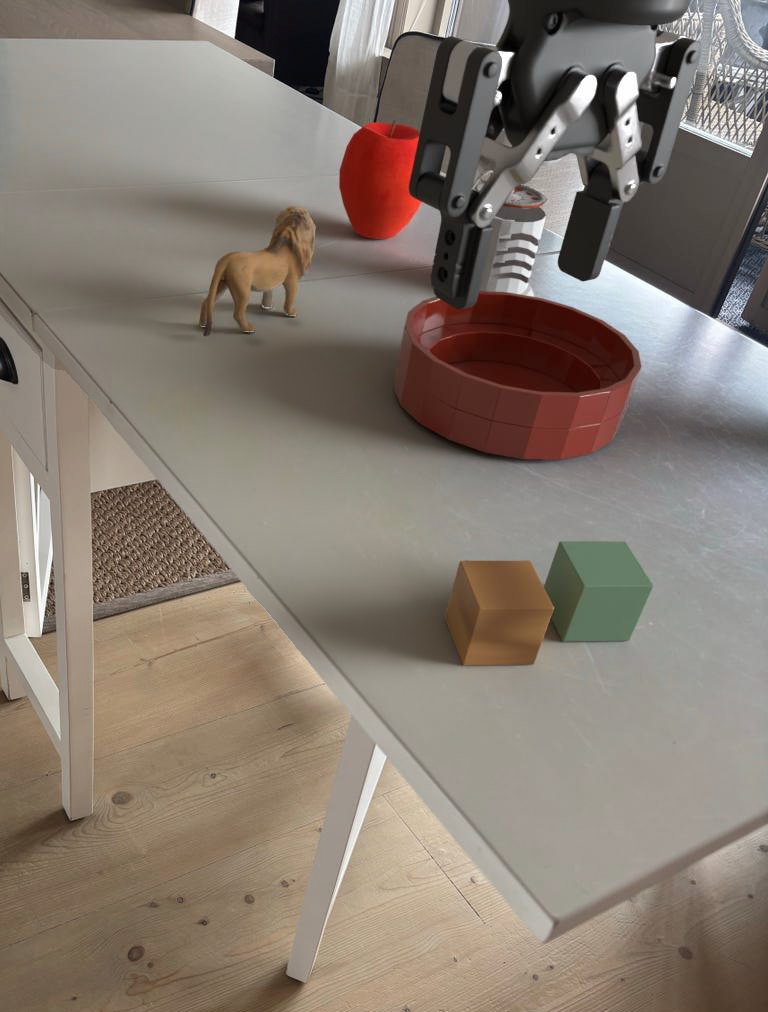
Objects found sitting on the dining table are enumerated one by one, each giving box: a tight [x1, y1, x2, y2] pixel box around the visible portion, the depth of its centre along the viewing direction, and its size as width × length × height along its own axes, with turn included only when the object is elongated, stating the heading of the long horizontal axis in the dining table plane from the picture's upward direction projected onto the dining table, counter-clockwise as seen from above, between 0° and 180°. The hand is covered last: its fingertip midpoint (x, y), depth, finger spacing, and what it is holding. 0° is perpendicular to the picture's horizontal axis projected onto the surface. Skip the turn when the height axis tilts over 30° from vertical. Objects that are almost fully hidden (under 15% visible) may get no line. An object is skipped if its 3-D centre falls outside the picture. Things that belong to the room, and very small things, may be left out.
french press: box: [472, 129, 562, 297], centre depth 94 cm, size 10×12×25 cm
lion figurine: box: [198, 206, 316, 337], centre depth 89 cm, size 15×5×9 cm, turn 145°
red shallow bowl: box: [393, 291, 642, 461], centre depth 81 cm, size 19×19×6 cm
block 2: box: [543, 540, 654, 643], centre depth 61 cm, size 4×4×4 cm
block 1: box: [444, 560, 554, 667], centre depth 58 cm, size 4×4×4 cm
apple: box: [338, 120, 423, 240], centre depth 107 cm, size 10×10×12 cm
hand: (517, 288), depth 47 cm, fingers open, 8 cm apart
